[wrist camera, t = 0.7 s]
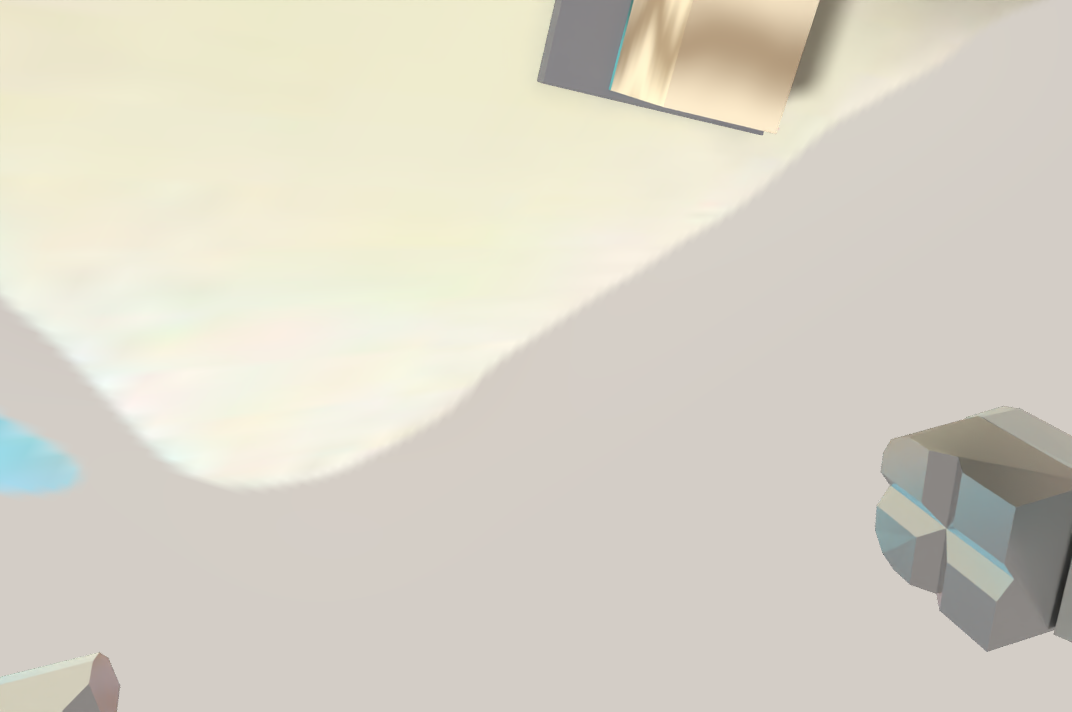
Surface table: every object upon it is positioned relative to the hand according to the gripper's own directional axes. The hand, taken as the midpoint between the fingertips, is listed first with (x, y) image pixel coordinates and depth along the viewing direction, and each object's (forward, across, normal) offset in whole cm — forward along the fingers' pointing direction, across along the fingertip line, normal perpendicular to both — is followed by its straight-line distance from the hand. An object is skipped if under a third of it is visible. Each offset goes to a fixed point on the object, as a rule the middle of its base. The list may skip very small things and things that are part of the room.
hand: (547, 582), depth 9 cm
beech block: (+40, -22, 0) cm, 46 cm away
